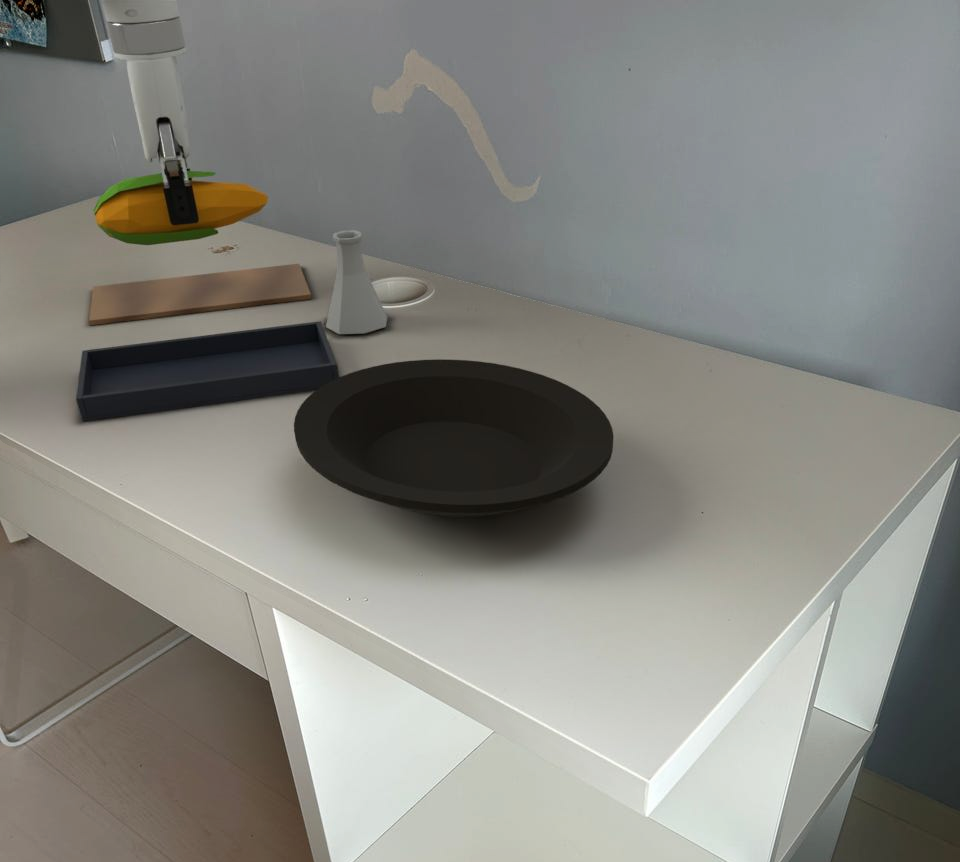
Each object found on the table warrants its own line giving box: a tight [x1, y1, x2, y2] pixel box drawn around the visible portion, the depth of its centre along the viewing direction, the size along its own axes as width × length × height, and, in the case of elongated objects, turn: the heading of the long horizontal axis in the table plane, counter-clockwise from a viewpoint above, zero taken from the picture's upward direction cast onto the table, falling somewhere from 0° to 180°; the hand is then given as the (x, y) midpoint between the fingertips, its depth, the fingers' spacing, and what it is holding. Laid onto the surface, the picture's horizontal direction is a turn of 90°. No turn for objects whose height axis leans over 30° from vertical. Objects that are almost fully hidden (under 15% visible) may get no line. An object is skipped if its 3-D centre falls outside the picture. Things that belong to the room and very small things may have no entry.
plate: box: [293, 358, 614, 518], centre depth 82 cm, size 28×24×6 cm
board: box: [88, 263, 312, 326], centre depth 122 cm, size 26×12×1 cm, turn 105°
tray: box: [75, 320, 340, 423], centre depth 102 cm, size 25×12×2 cm, turn 105°
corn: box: [93, 170, 269, 246], centre depth 115 cm, size 7×8×20 cm
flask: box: [325, 229, 388, 335], centre depth 110 cm, size 7×7×10 cm
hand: (184, 213), depth 116 cm, fingers closed on corn, 6 cm apart
